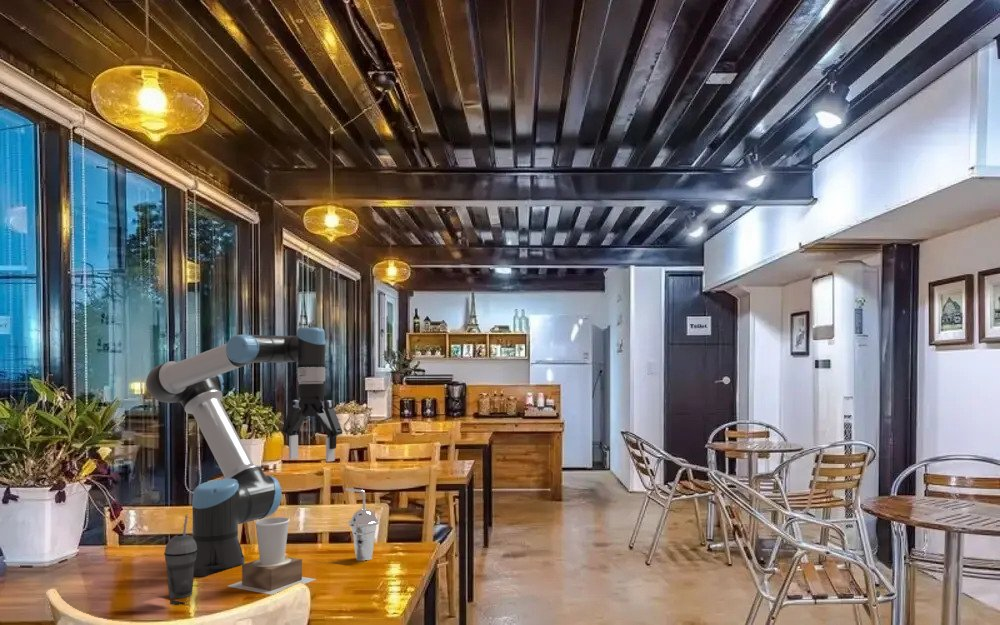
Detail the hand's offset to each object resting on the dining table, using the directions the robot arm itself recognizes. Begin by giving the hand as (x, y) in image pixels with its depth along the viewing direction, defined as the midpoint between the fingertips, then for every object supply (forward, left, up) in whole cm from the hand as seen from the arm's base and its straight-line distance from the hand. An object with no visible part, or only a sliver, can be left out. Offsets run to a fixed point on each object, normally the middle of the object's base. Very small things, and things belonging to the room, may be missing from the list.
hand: (311, 460), depth 205 cm
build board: (+6, -20, -29) cm, 35 cm away
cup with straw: (+8, +12, -29) cm, 32 cm away
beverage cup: (-6, -37, -29) cm, 47 cm away
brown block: (+6, -20, -27) cm, 34 cm away
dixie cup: (+6, -20, -22) cm, 31 cm away
